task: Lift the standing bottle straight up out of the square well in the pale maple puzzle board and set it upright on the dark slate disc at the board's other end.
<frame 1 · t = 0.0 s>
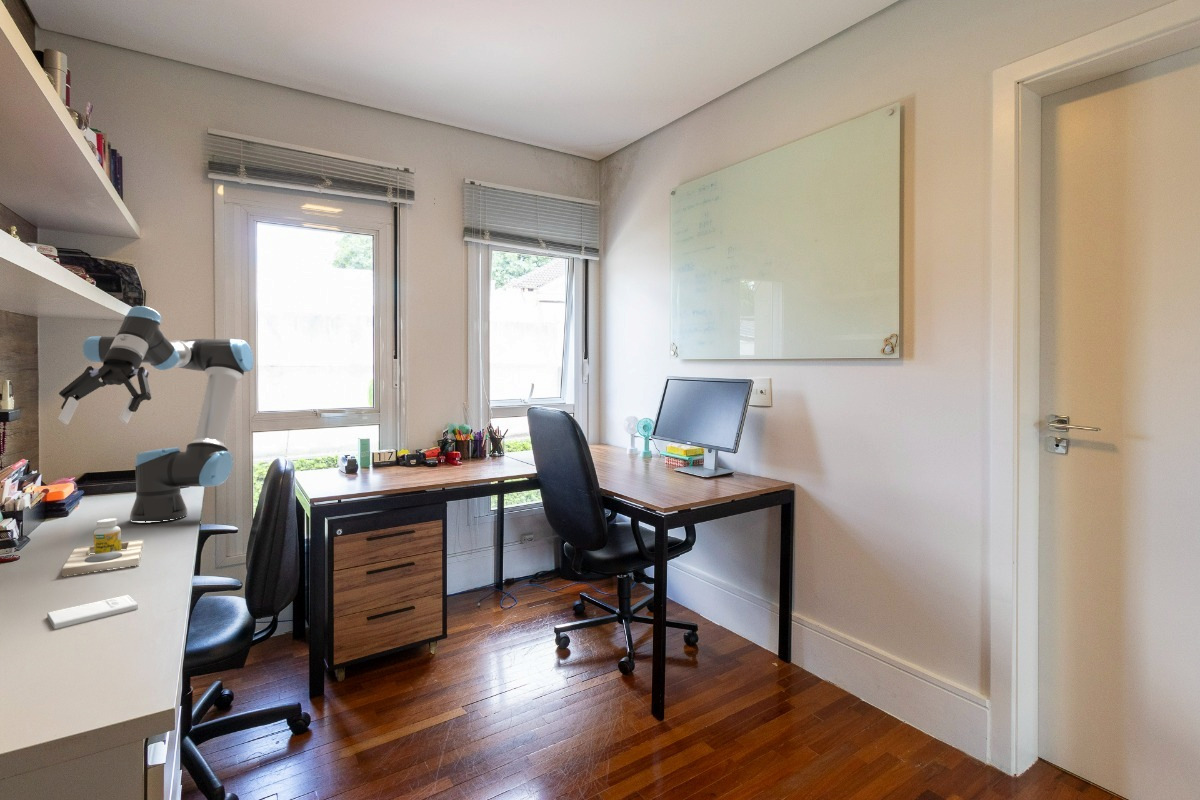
hand: (93, 421, 143), 36 cm above the table, tool tilted 35°, fingers open, 13 cm apart
puzzle board: (106, 560, 147), on the table
supplement bottle: (108, 557, 150), resting in puzzle board
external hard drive: (93, 616, 114), on the table
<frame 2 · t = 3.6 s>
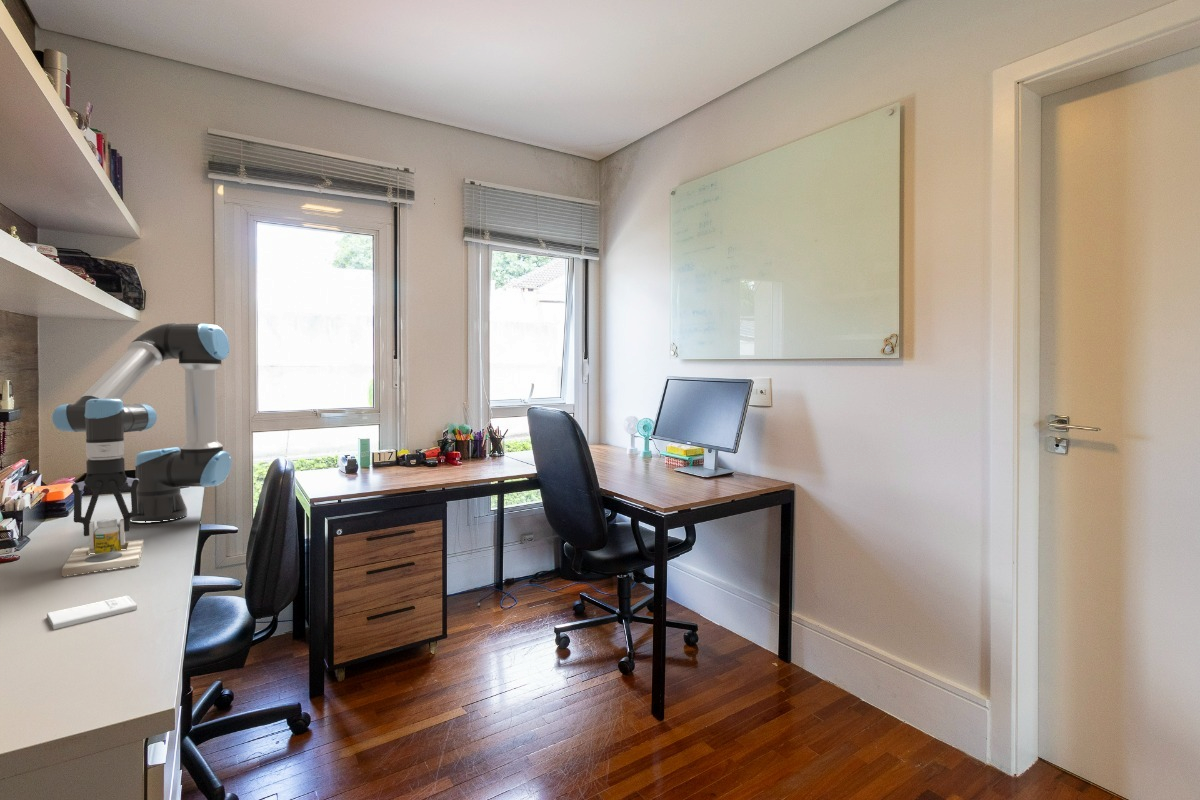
hand: (107, 545, 150), 3 cm above the table, tool pointing down, fingers closed on supplement bottle, 5 cm apart
supplement bottle: (108, 556, 150), resting in puzzle board, touching gripper
everything else where it was.
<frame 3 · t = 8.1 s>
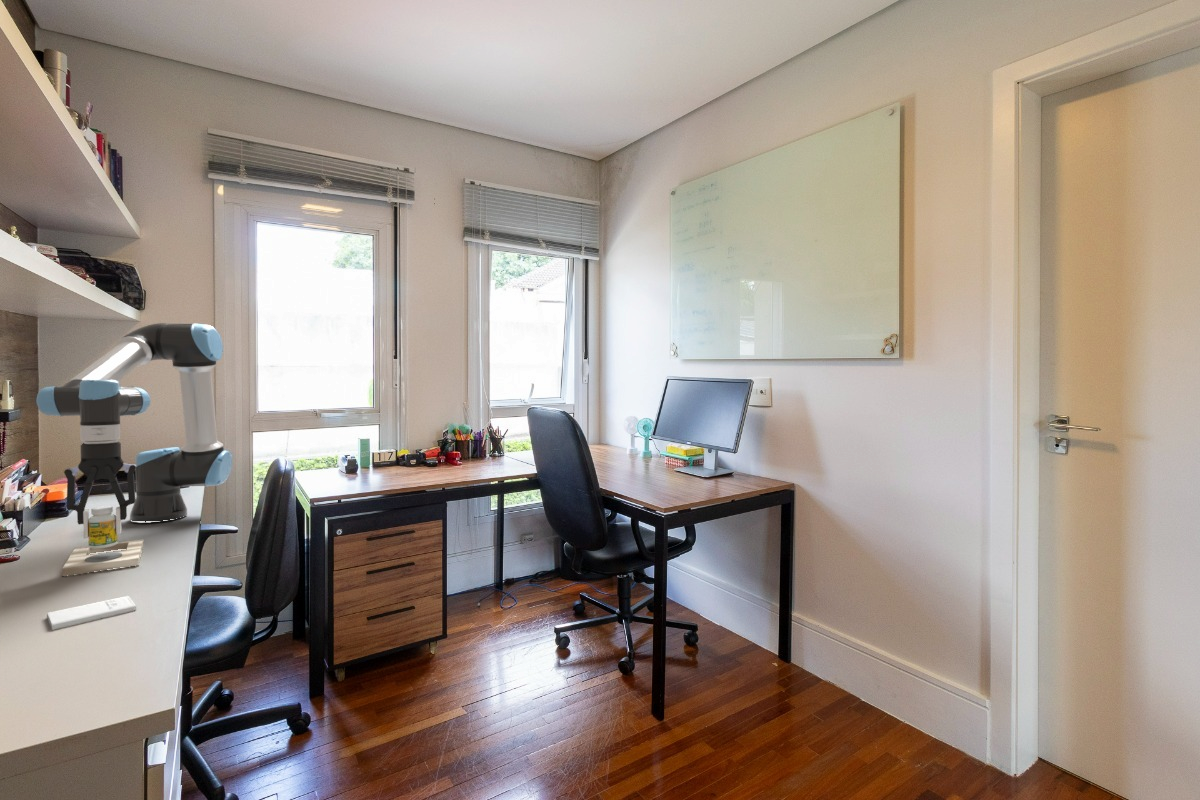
hand: (103, 534, 142), 8 cm above the table, tool pointing down, fingers closed on supplement bottle, 5 cm apart
supplement bottle: (103, 546, 142), point 5 cm above the table, touching gripper
everything else where it was.
when the fingers open (6 cm above the table, at t = 9.1 s): supplement bottle drops 1 cm, resting on puzzle board.
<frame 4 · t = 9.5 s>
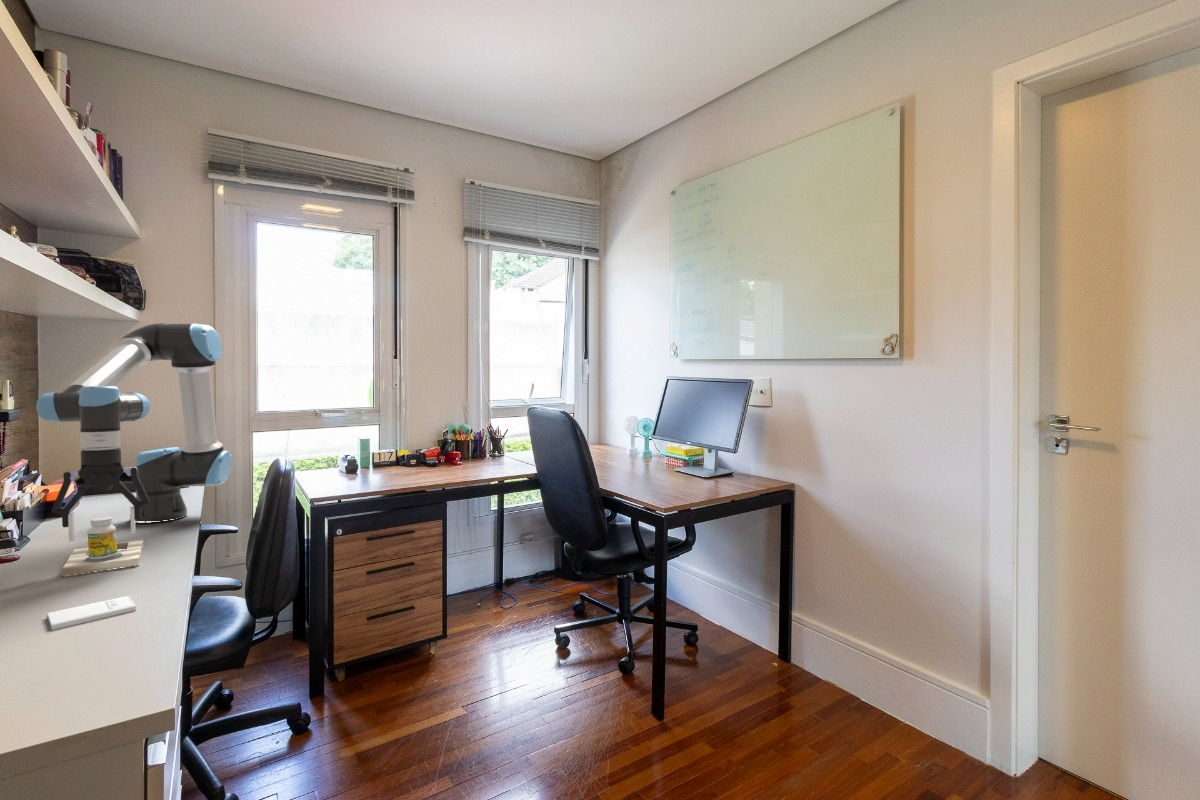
hand: (103, 536, 142), 7 cm above the table, tool pointing down, fingers open, 11 cm apart
supplement bottle: (102, 557, 143), point 2 cm above the table, touching puzzle board
everything else where it was.
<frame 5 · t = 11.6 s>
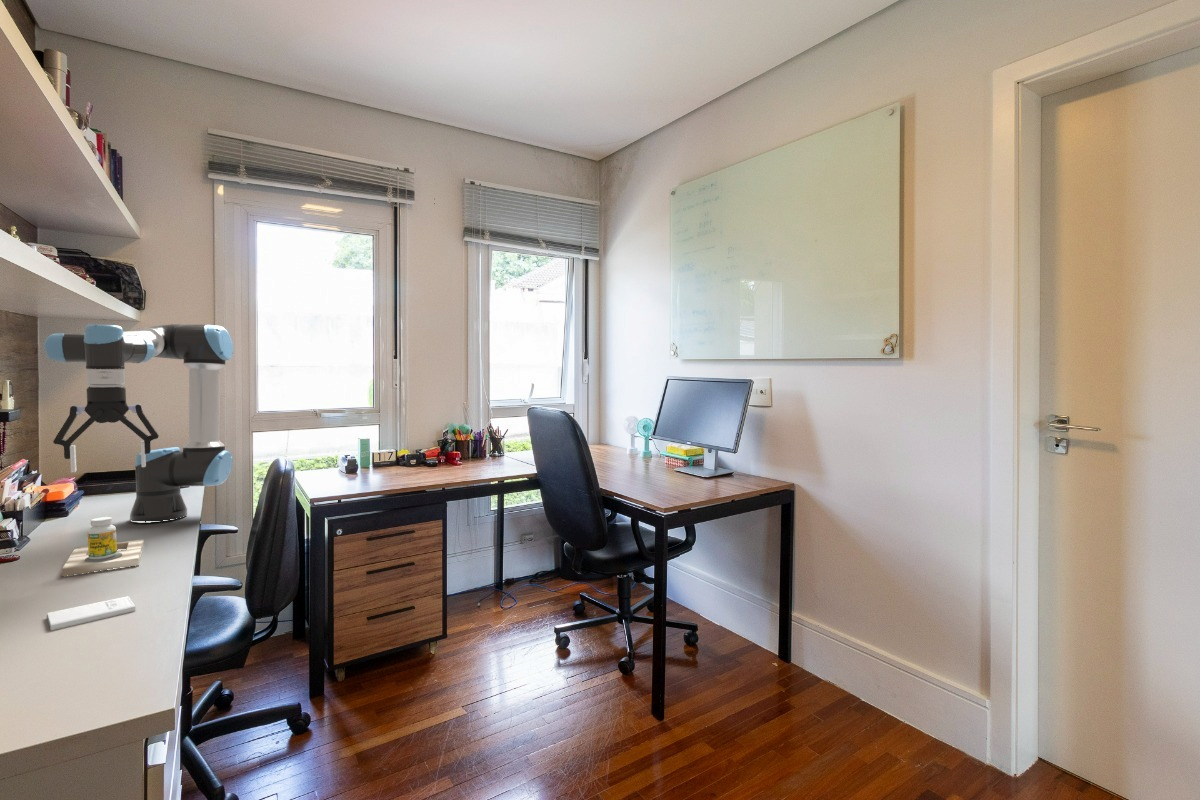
hand: (109, 469, 146), 24 cm above the table, tool pointing down, fingers open, 13 cm apart
nothing on the table moved.
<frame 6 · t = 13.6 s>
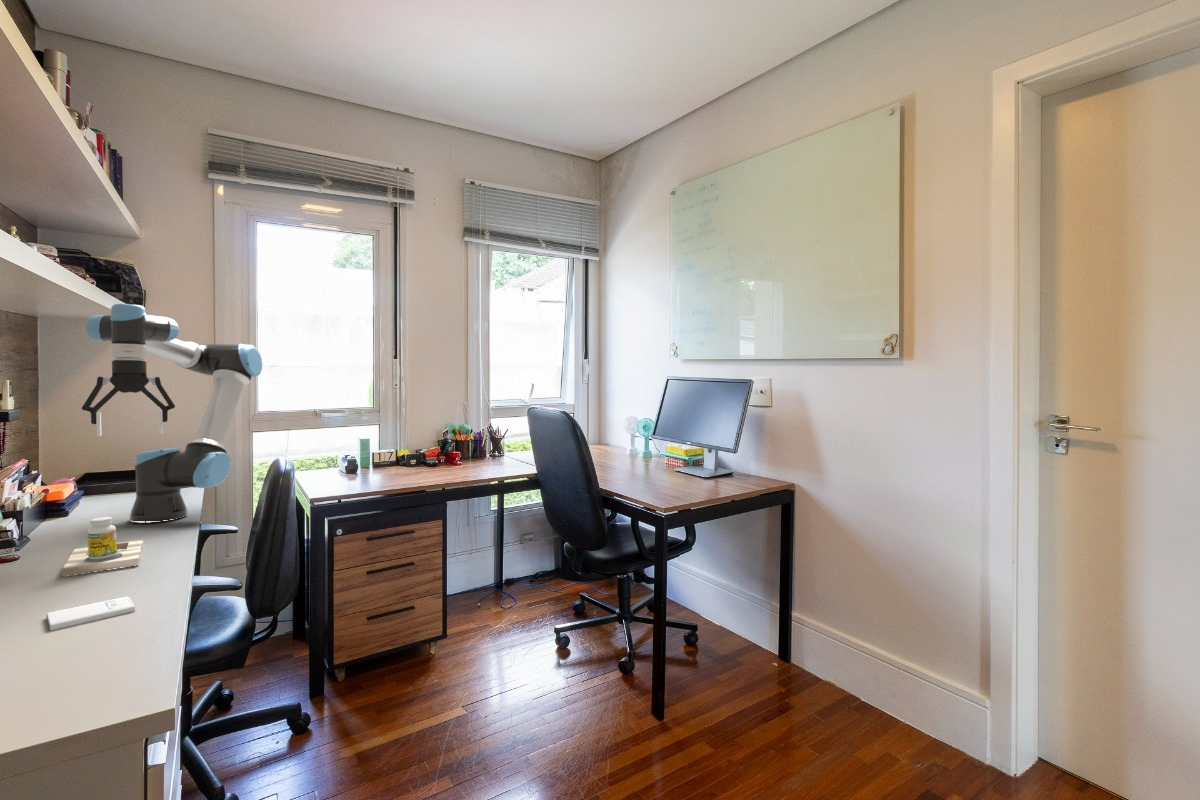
hand: (131, 434, 162), 31 cm above the table, tool pointing down, fingers open, 13 cm apart
nothing on the table moved.
at the end: supplement bottle 0.2 cm from the target spot on the puzzle board, point 2.1 cm above the puzzle board's base; supplement bottle tilted 0°; the gripper is holding nothing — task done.
